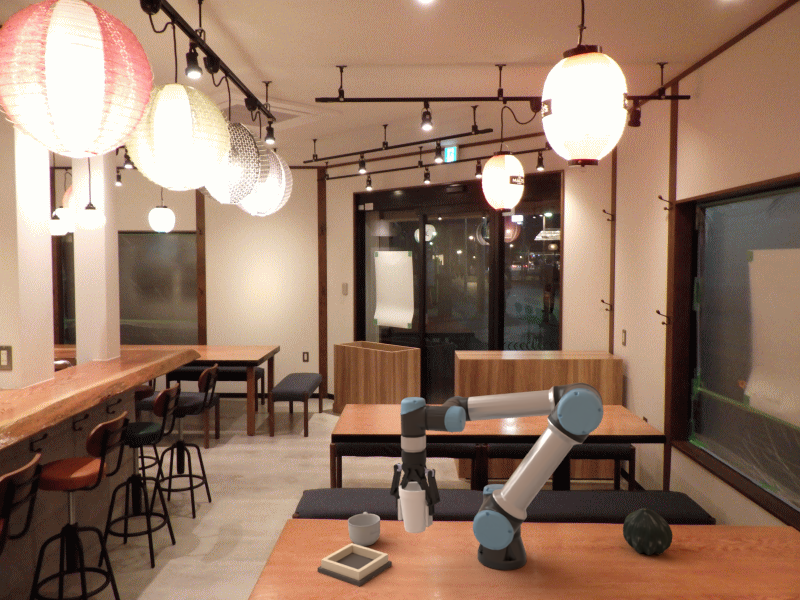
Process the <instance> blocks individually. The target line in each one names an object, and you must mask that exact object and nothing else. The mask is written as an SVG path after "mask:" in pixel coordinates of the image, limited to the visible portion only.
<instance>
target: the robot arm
mask: <svg viewBox="0 0 800 600" xmlns="http://www.w3.org/2000/svg"><path fill="white" fill-rule="evenodd" d="M399 415H400V434H401V435H400V447H401V463H400V462H398V463H396V464H394V465H393V467H392V468H393V477H392V479H391V480H392V481H391V485H390V486H391V487H390V489H389V490H390V492H389V494H390V496H393V497H395V507H396V509H397V520H398V521H403V514H402V507H401V500H400V496H399V486H402V489H404V488H406V486H407V484H408V482H410V481H411V480H413V481H414V482H417V483H418V484H419V485H420V487H421V490H425V499H426V501H427V503H428V504H426V505H425V513H426V528H429V527H430V526H432V525H433V524H434V522H433V521H434V520H433V516H434V515H435V514H436V513H435V511H436V510H435V505H437V504H438V503H440V502H441V498H440V493H439V488H438V483H437V480H436V469H434V468H432V469H430V468H428V467H427V464H426V463H427V449H426V447H427V431H430V432H431V431H432V432H444V433H445V432H448V433H460V432H463V431H464V430H465V428H466V422H472V421H473V422H474V421H486V420H487V421H488V420H501V419H502V420H503V419H513V418H514V419H515V418H517V419H518V418H528V417H529V418H530V417H543V416H544V417H546V416H547V418H546V420H547V427H545V429H544V430H543V431H542V433H541V435H540V436H539V438H538V439H537V440H536V441H535V443H534V444H533V446H532V447H531V449H530V450H529V451H528V453H526V455H525V457H524V458H523V459H522V461H521V462H520V463H519V465H518V466H517V468H516V469H515V470H514V472H513V473H512V474H511V476H510V477H509V479H508V480H507V482H505V483H504V484H503V483H502V484H500V483H498V484H497V483H492V484H487V485H485V486H484V487H483V492H482V495H483V498H482V500H483V501H482V504H481V506H480V507H479V510H478V512H477V513H476V515H475V516H474V518H473V522H472V532H473V534H474V537H475V539H476V540H477V542H478V543H479V545H478V549H477V560H478V562H479V563H480V564H482V565H483V566H485V567H488V568H491V569H495V570H502V571H509V570H510V571H511V570H515V569H520V568H522V567H523V566H525V565H526V563H527V551H526V548H525V545H524V542H523V538H522V536H521V535H522V534H521V533H522V524H523V523H524V522H525V520H526V519H527V517H528V514H527V508H528V507H529V506H530V504H531V503H532V501H533V500H534V499H535V497H536V496H537V495H538V493H539V492H540V491H541V489H542V488H543V486H544V485H545V484H546V483H547V481H548V480H549V479H550V477H551V476H552V474H554V472H555V471H556V469H557V468H558V467H559V465H560V464H561V463H562V461H564V459H565V457H566V456H567V455H568V454H569V452H570V451H571V449H572V448H573V447H574V446H575V445H582V444H583V443H584V442H585V440H587V438H588V437H589V436H590V434H591V433H592V432H594V431H595V430H596V429H598V428H599V426H600V425H601V423H602V421H603V418H604V406H603V399H602V395H601V393H600V391H599V390H598V389H597V388H596V387H595V386H593V385H591V384H590V383H585V382H574V383H568V384H562V385H553V386H552V387H550V389H546V390H545V389H543V390H536V391H524V392H523V391H522V392H521V391H520V392H511V393H499V394H488V395H479V396H478V395H477V396H467V397H466V396H464V397H463V396H460V395H459V396H457V395H456V396H451V397H449V398H448V399H447V400H446V401H445V402H444V403H443V404H442V405H432V404H431V405H429V404H427V403H426V399H425V398H423V397H419V396H413V397H412V396H410V397H405V398H403V399H402V400H401V402H400V414H399ZM402 472H403V475H402ZM401 479H402V480H401ZM400 481H401V482H400ZM428 485H429V486H428Z"/></svg>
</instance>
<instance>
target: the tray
mask: <svg viewBox="0 0 800 600" xmlns="http://www.w3.org/2000/svg"><path fill="white" fill-rule="evenodd" d="M320 562H321V563H320V566H318V567H317V572H318V573H320V574H323V575H326V576H329V577H331V578H335V579H337V580H341V581H342V582H346V583H348V584H351V585H354V586H357V587H361V586H363V585H365V584H366V583H367V582H369V581H370V580H372V579H374V578H375V577H376V576H378V575H380V574H381V573H382V572H384V571H386V570H387V569H389V568H390V567H392V566H393V562H392V560H389V554H388V553H386V552H382V551H380V550H376V549H373V548H369V547H367V546H360V545H357V544H355V543H354V542H353V543H352V542H351V543H349V544H347V545H345V546H343V547H341V548H340V549H337V550H336V551H334V552H332V553H331V554H329V555H327V556H325V557H323V558H322V559H321V560H320Z"/></svg>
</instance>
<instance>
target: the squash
mask: <svg viewBox="0 0 800 600" xmlns="http://www.w3.org/2000/svg"><path fill="white" fill-rule="evenodd" d="M622 535H623V538H624V541H625V542H626V543H627V544H628V545H629V547H631V548H633V549H634V550H635V552H636V553H638V554H643V553H644V554H645V555H647V556H651V555H653V554H655V555H662V554H663V553H665V552H666V551H667V550H668V549H669V547H671V544H672V541H673V536H674V535H673V530H672V528H671V526H670V525H669V523H668V522H667V521H666V519H664V517H663V516H662V515H660V514H659V513H657V512H656V511H654V510H652V509H649V508H646V507H643V508H639V509H637V510H634V511H632V512H630V513H629V514H627V516H626V517H625V518H624V522H623V526H622Z"/></svg>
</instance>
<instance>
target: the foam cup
mask: <svg viewBox="0 0 800 600" xmlns="http://www.w3.org/2000/svg"><path fill="white" fill-rule="evenodd" d="M428 486H429V484H428ZM398 488H399V496H400V500H401V507H402V514H403V519H402V521H403V526H404V530H405V532H407V533H410V534H420V533H423V532H425V531H426V528H427V527H426V513H425V505H426V504H428V503H427V501H426V499H425V490H421V487H420V485H419V484H418V483H417V481H409V482H408V484H407V486H406V488H404V489H402V486H400V485H399V487H398Z"/></svg>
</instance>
